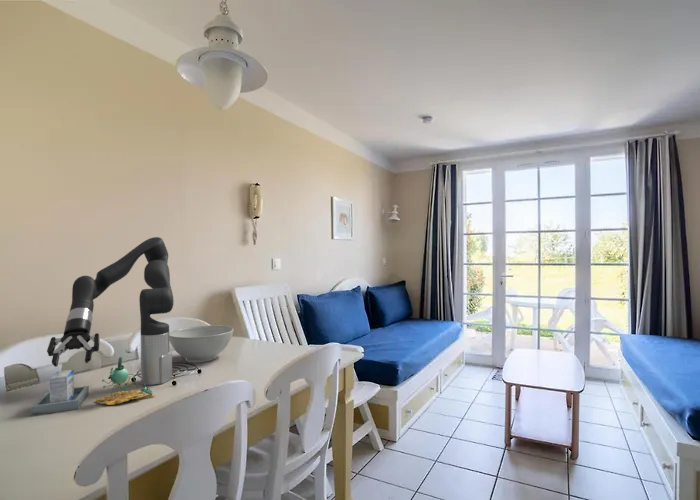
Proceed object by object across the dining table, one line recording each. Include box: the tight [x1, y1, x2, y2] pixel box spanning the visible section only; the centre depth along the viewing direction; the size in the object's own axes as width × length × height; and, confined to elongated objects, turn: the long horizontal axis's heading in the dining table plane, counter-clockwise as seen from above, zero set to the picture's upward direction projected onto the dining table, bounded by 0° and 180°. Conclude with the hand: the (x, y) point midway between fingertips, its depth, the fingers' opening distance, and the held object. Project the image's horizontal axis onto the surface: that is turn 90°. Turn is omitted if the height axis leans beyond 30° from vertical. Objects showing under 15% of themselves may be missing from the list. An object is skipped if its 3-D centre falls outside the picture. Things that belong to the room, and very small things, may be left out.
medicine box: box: [49, 369, 75, 403], centre depth 116 cm, size 8×4×9 cm, turn 25°
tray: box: [31, 385, 90, 417], centre depth 116 cm, size 11×14×2 cm
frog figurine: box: [92, 356, 156, 406], centre depth 118 cm, size 10×18×15 cm, turn 91°
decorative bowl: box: [169, 324, 234, 363], centre depth 166 cm, size 27×27×12 cm
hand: (71, 363), depth 126 cm, fingers open, 8 cm apart
